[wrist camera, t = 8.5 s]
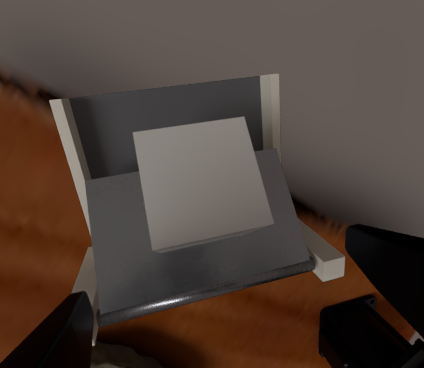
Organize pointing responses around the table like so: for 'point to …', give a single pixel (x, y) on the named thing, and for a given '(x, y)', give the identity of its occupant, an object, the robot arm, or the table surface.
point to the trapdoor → (185, 250)
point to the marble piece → (119, 357)
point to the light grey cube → (200, 183)
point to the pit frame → (162, 118)
